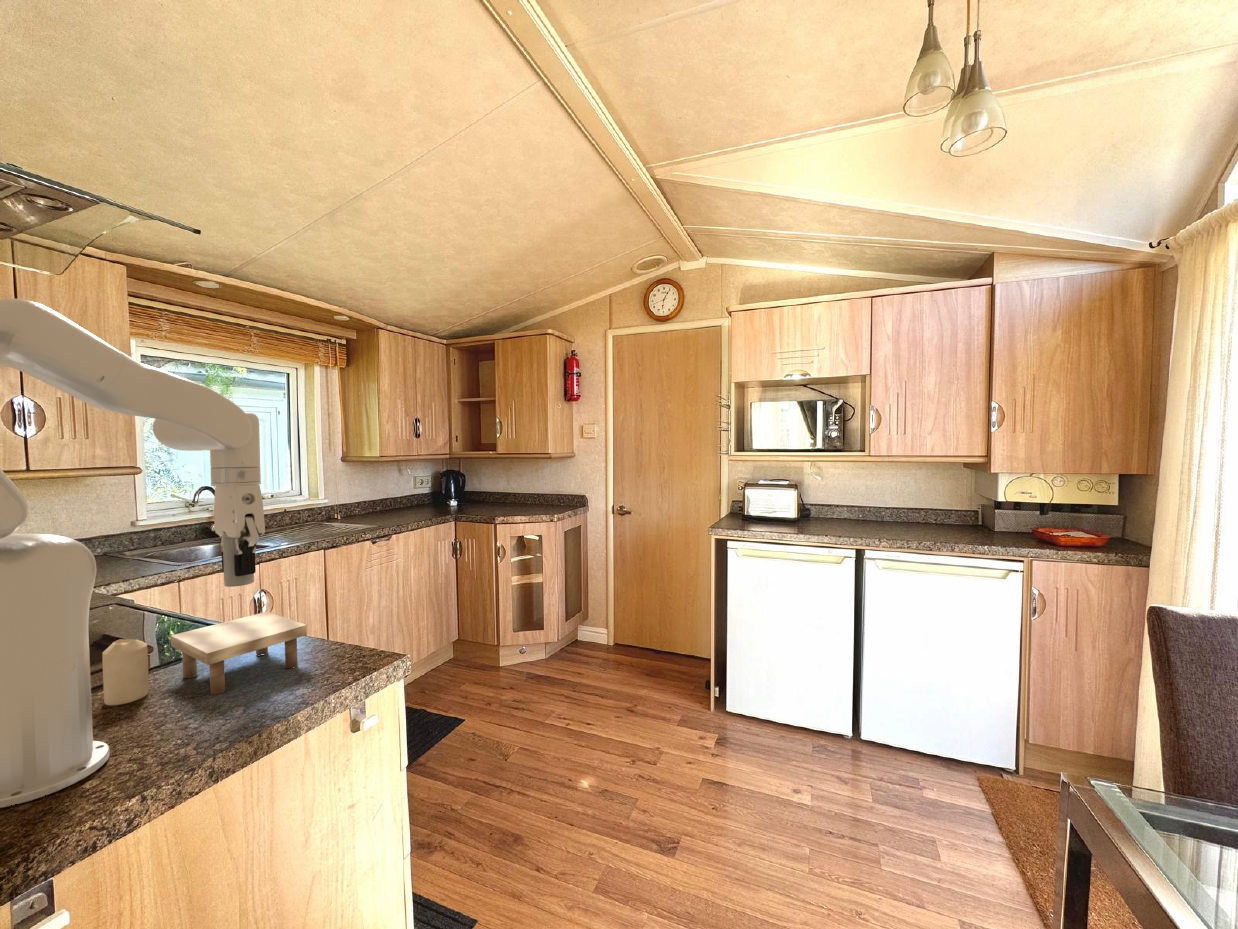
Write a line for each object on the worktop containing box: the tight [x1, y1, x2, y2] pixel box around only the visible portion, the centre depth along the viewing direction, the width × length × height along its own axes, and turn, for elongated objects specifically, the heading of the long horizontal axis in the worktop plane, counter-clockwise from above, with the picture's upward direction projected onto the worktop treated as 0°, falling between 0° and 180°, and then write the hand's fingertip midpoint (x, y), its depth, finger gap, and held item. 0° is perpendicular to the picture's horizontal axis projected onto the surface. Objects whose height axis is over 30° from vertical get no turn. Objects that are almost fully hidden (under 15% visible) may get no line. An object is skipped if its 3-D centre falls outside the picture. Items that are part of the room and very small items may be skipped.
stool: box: [170, 611, 308, 696], centre depth 97 cm, size 16×16×8 cm
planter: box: [223, 532, 255, 588], centre depth 96 cm, size 4×4×10 cm
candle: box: [101, 638, 150, 706], centre depth 87 cm, size 6×6×10 cm
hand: (238, 572), depth 96 cm, fingers closed on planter, 4 cm apart
